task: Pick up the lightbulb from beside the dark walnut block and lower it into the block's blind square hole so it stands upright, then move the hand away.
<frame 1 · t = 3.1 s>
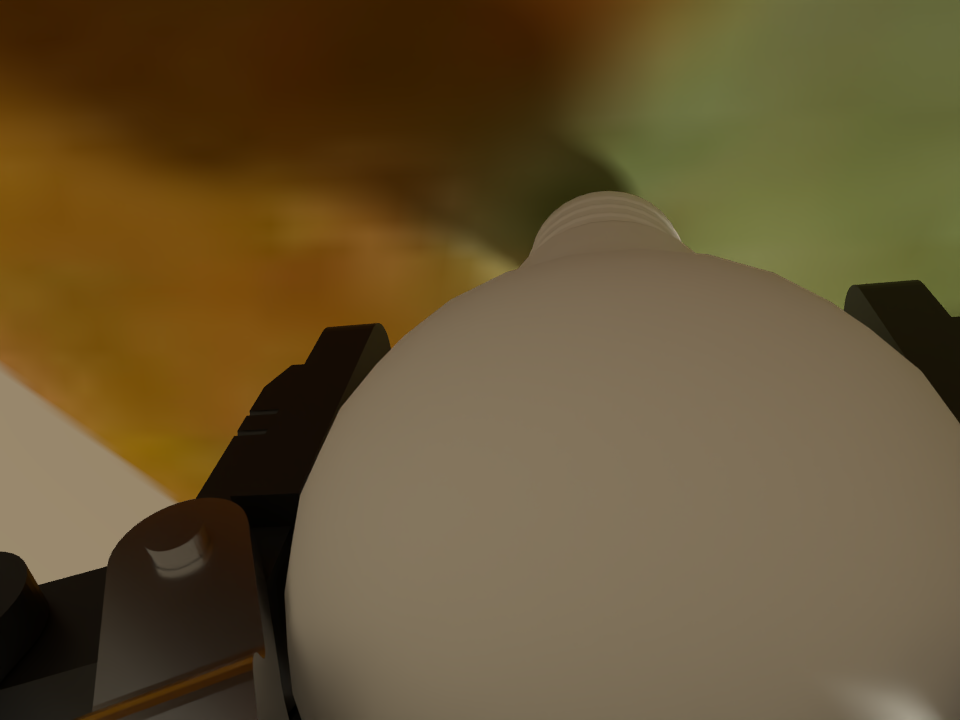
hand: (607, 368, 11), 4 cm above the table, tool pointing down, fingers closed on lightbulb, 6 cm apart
lightbulb: (603, 239, 14), on the table, touching gripper
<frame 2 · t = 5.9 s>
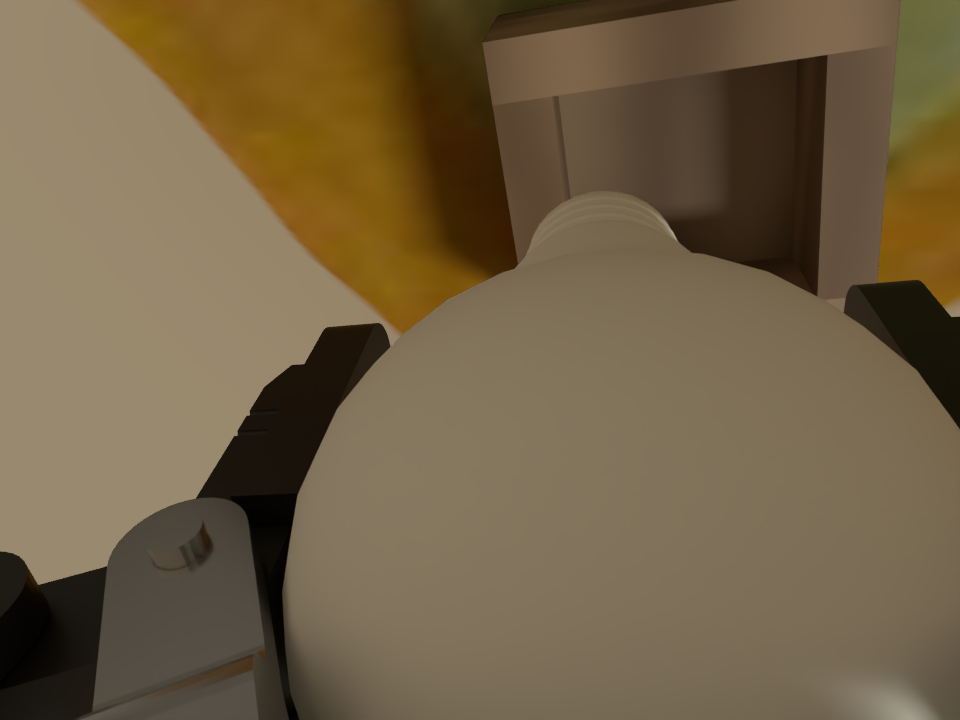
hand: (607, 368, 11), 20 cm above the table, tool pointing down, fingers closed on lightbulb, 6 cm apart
lightbulb: (600, 239, 14), point 15 cm above the table, touching gripper
socket block: (674, 154, 28), on the table
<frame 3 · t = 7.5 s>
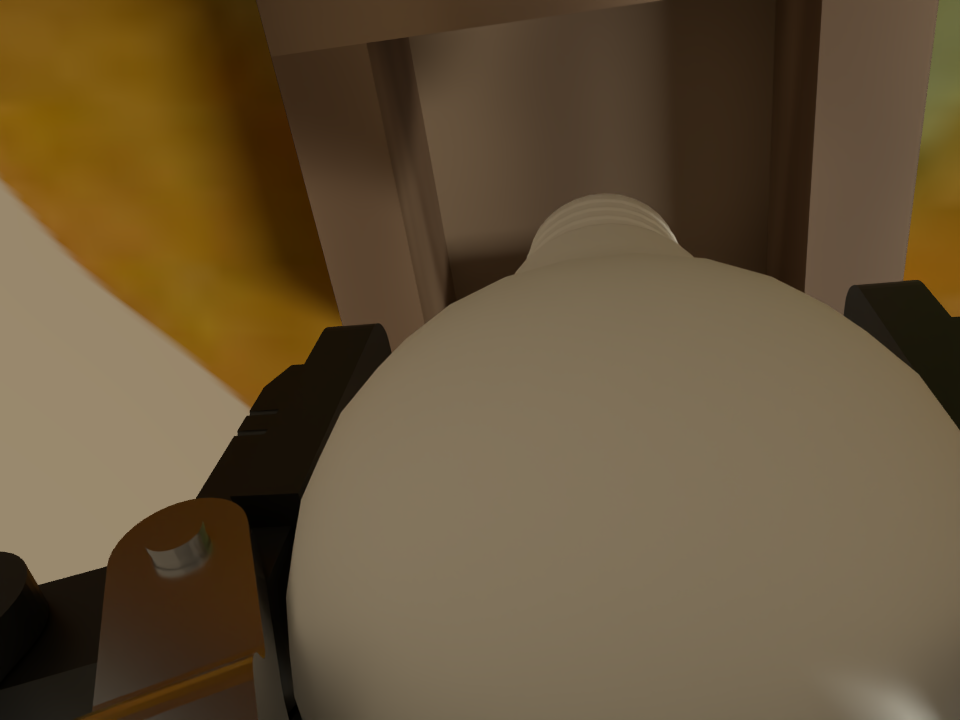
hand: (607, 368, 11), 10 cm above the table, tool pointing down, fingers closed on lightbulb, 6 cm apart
lightbulb: (600, 241, 14), point 6 cm above the table, touching gripper
socket block: (596, 147, 19), on the table
when the fingers open (7 cm above the table, at t = 8.6 s): lightbulb drops 1 cm, resting on socket block.
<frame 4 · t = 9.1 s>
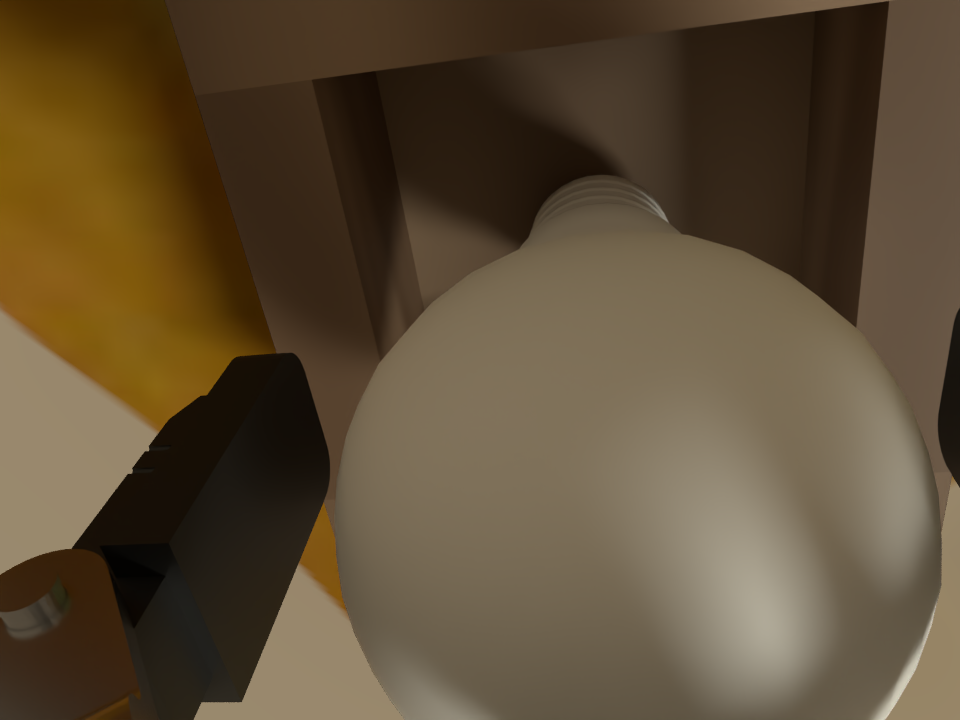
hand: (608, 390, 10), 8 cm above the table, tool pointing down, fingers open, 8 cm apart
lightbulb: (597, 218, 16), point 1 cm above the table, touching socket block
socket block: (597, 189, 17), on the table
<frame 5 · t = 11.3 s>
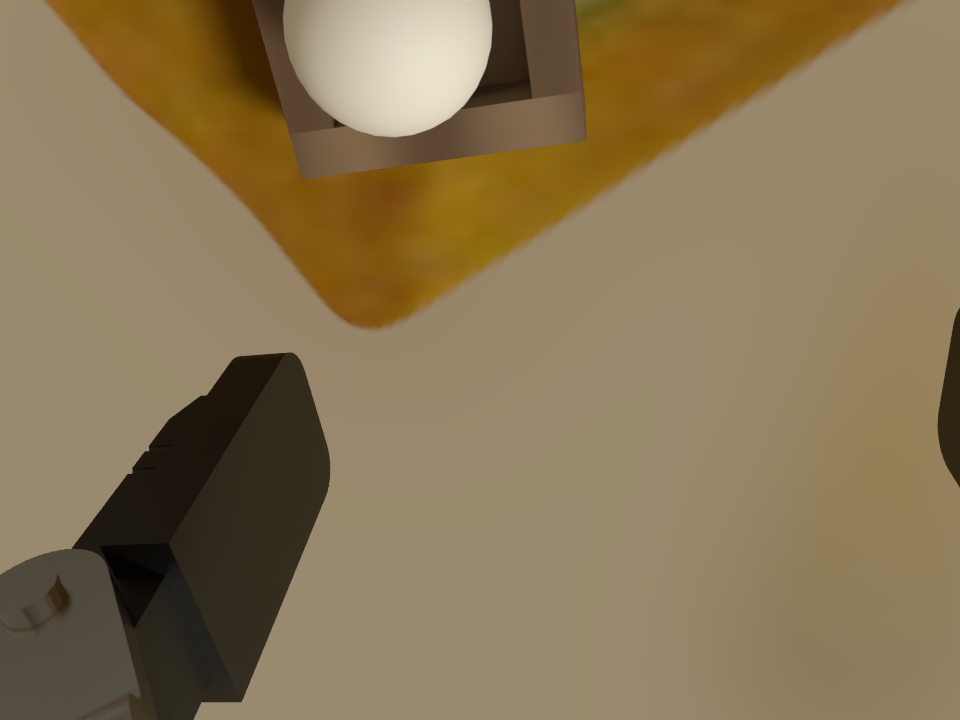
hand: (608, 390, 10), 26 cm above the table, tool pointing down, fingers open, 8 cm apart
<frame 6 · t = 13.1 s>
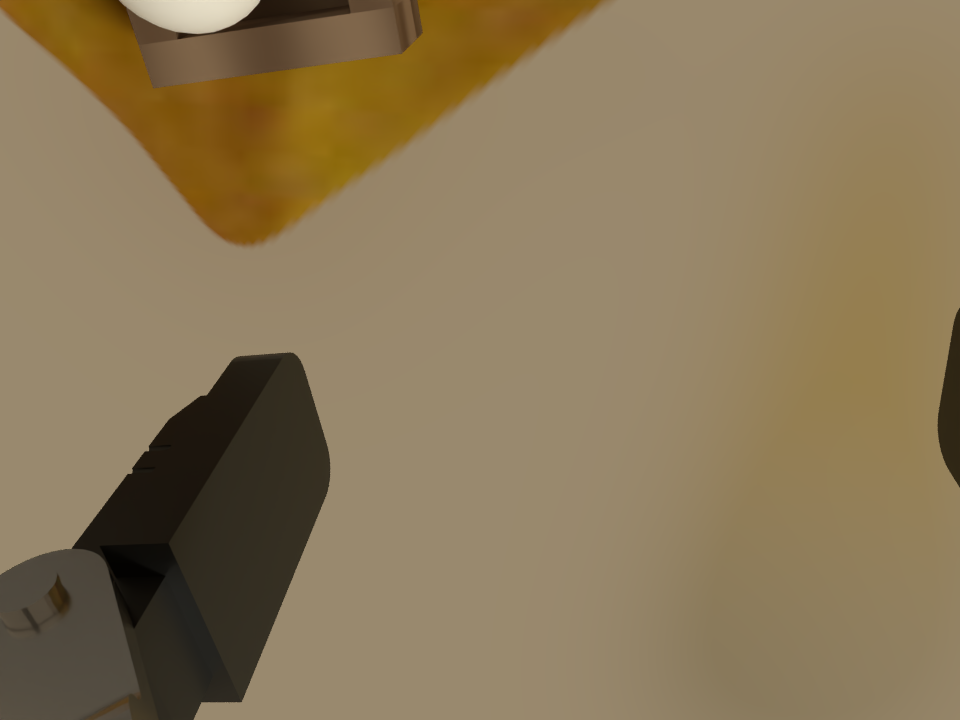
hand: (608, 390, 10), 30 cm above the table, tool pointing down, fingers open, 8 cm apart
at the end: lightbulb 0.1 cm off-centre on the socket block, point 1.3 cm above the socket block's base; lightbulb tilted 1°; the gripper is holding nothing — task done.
